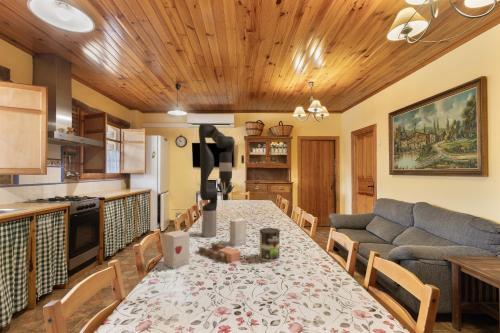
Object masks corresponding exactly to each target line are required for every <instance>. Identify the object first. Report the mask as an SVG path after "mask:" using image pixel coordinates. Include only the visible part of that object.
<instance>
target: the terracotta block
mask: <svg viewBox="0 0 500 333" xmlns="http://www.w3.org/2000/svg"><path fill="white" fill-rule="evenodd" d="M225 247H226V246H225ZM234 249H235V248H231V247H226V248H223V249H220V250H218V251H217V253H220V254H221V253H225V254H226V255H225V261H224V262H229V263H236V262H238V261H241V259H242V258H241V251H240V250H238V251H237V250H234Z"/></svg>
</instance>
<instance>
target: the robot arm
mask: <svg viewBox="0 0 500 333" xmlns="http://www.w3.org/2000/svg"><path fill="white" fill-rule="evenodd" d="M198 138H199V139H198V140H199V141H198V142H199V151H200V152H199V160H200V161H199V168H200V182H199V184H200V185H199V188H200V189H199V196H200V199H201V200H202V201H208V202H207V203H206V204H204V205H203V206H202V220H201V236H202V237H204V238H213V237H216V236H217V206H218V194H219V193H218V190H219V192H220V193H221V194H222V199H223V201H226V202H227V201H229V200H228V199H229V194H231V193H232V191H233V190H234V187H235V184H233V182H232V178H233V165H232V162H233V161H232V157H233V151H234V147H235V143H236V141H235V139H234V137H232V136H228V135H226V134H224V133H222V132H220V131H219V129H218V128H217V127H216V126H215V125H214V124H207V123H200V124H199V126H198ZM206 139H212V141H213V142H214V143H216V146H217V148H219V149H226V151H223V152H221V153H219V164H218V165H219V166H218V178H219V183H217V187H218V189H217V187H216V186H215V185H208V181H209V177H210V175H211V174H212V172H213V171H214V169H215V168H214V167H215V157H214V155H213V153H212V151H211V150H210V148H209V146H208V144H207V142H206Z"/></svg>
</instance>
